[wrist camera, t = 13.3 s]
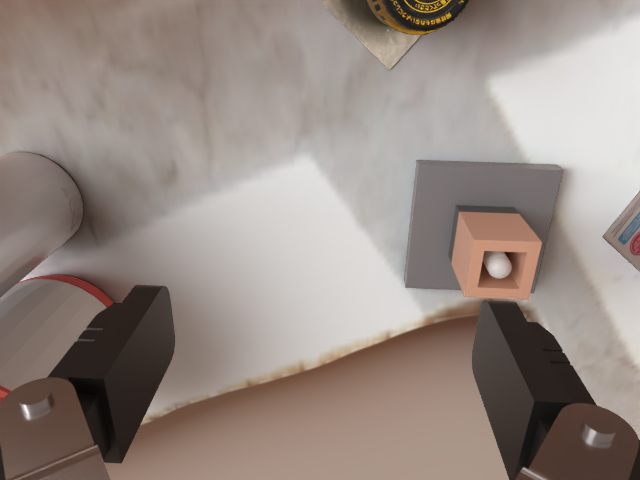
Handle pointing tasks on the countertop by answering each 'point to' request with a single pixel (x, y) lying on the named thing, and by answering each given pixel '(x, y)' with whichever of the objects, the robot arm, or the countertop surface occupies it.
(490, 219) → the sleeve
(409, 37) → the condiment
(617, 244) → the juice carton
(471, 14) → the countertop surface
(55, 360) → the citrus juicer
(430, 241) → the pin board
